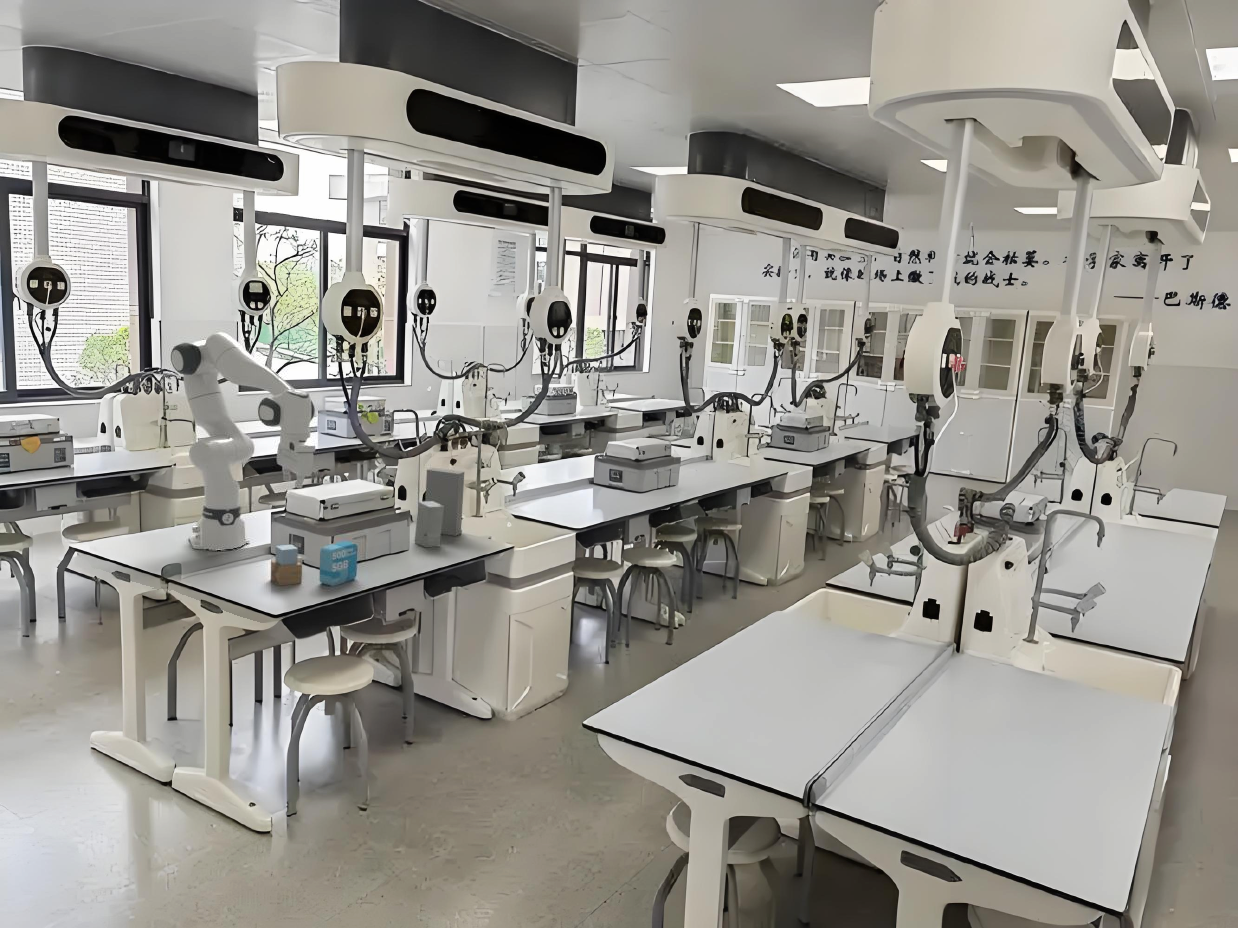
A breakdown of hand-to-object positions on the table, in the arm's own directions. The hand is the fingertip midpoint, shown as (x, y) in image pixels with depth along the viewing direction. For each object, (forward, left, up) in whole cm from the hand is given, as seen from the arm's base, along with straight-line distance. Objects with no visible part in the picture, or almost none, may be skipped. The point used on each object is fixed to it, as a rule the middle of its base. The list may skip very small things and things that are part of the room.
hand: (292, 484), depth 291 cm
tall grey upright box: (-27, +72, -30) cm, 82 cm away
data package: (+13, +10, -30) cm, 34 cm away
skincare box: (-14, +58, -30) cm, 67 cm away
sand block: (-3, +1, -30) cm, 30 cm away
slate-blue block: (+6, -4, -24) cm, 25 cm away
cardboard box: (+6, -4, -30) cm, 31 cm away
